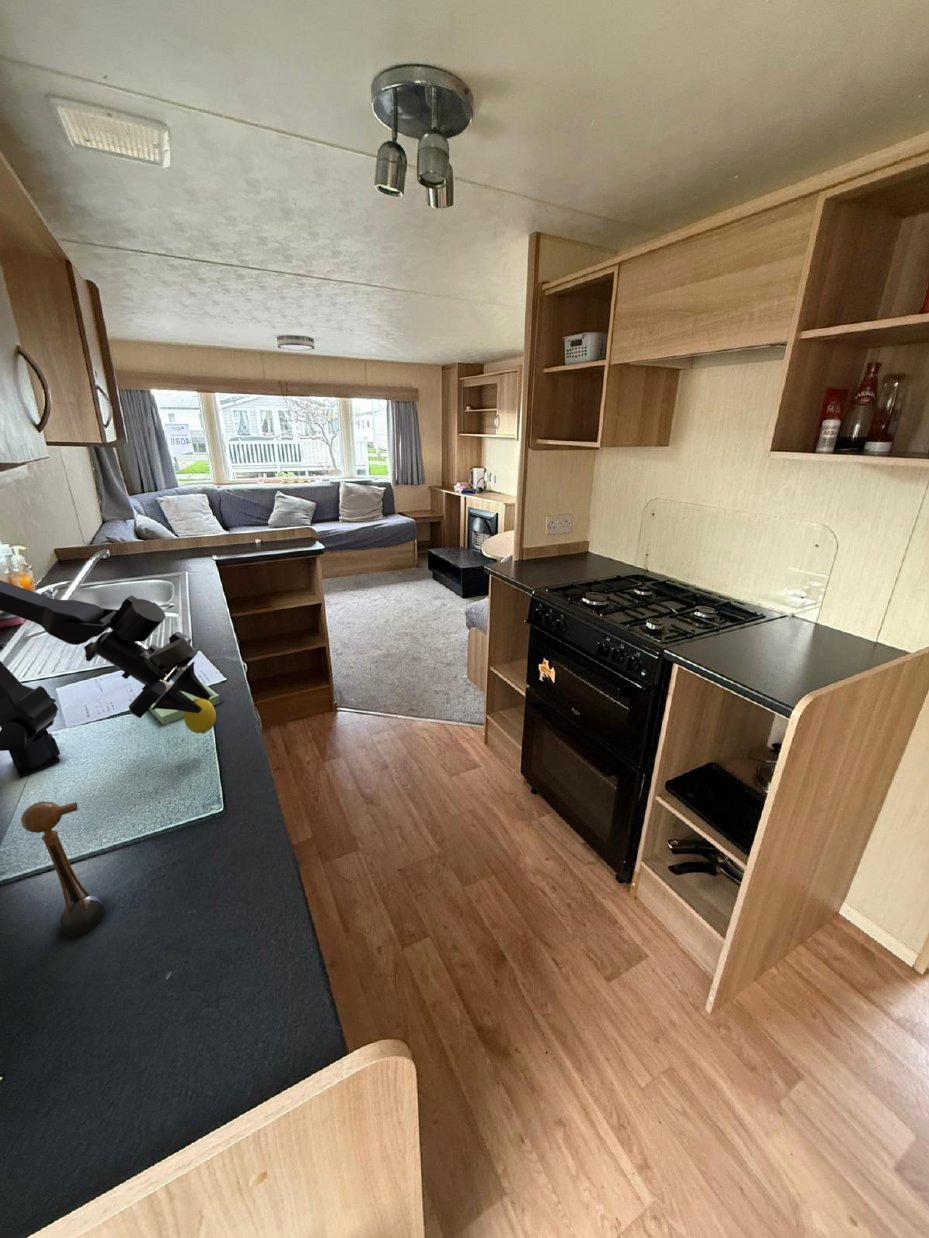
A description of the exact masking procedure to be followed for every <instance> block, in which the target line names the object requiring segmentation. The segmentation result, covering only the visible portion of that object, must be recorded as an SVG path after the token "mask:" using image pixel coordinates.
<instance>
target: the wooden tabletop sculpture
mask: <svg viewBox="0 0 929 1238" xmlns="http://www.w3.org/2000/svg"><path fill="white" fill-rule="evenodd" d="M78 810H79V807H78V802H77V801H74V802H71V803H68V804H65V805H62V806H59V804H57V803H55V802H53V801H38V802H35V803H33V804H31V805H30V806H29V807H28V808H26V809H25V810H24V811H23V812H22V815H21V817H20V823H21V826H22V828H23V829H24V830H26V831H27V832H31V833H35V834H40V833H43V834H42V836H41V841H43V842H44V845H45V848H46V850H47V852H48V855H49V857H50V859H51V861H52V864H53V866H54V870H55V872H56V874H57V877H58V880H59V883H60V887H61V890H62V894H63V899H64V904H65V908H64V910H63V912H62V914H61V916H60V926H61V929H62V931H63V933H64V935H65V936H68V937H69V936H70V937H77V936H80V935H82V934H85V933H88V932H90V931H91V930H93V929H94V928H95V927H96V926H97V925H98V924H99V923H100V922H102V920H103V919H104V915H105V914H106V912H107V910H106V907H105V905H104V904H103V903H102V901H101V900H100V898H99V897H98V896H96V895H91V894H89V892H87V890H86V889H85V888H84V887H83V885H82V884H81V881H80V880H79V879H78V877H77V875H76V873H75V872H74V870H73V867H72V866H71V863H70V862H69V859H68V856H67V854H66V852H65V849H64V847H63V845H62V842H61V840H60V837H59V833H58V831H57V830H53V828H55V827H56V826H57V825H58V824H59V823H60V821H61V820H62V817H63V816H65V815H68V814H70V813H73V812H77V811H78ZM80 891H81V892H82V893H83V894H84V895H82V894H81V892H80Z"/></svg>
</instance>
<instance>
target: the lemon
mask: <svg viewBox="0 0 929 1238" xmlns="http://www.w3.org/2000/svg"><path fill="white" fill-rule="evenodd" d="M192 701H194V702H195V703H196V704H197V705H199V706H200V707H201V708H202V710H201V711H200V712H199V713H193V712H186V711H184V717H183V721H184V723H185V726H186V727H187V728H188V730H189V731H191V732H193V733H195V734H202V735H204V734H206V733H208V731H210V730H211V729H212V728H213V727H214V726H215V723H216V721H217V713H216V710H215V707H214V706H213V705H212V704H211V703H210V702H209V701H208V700H205V699H198V698H196V699H194V700H192Z"/></svg>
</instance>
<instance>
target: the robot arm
mask: <svg viewBox="0 0 929 1238" xmlns="http://www.w3.org/2000/svg"><path fill="white" fill-rule="evenodd" d="M0 612H3V613H6V614H10V615H12V616H15V617H18V618H21V619H23V620H27V621H29V622H33V623H34V624H37V625H39V626H41V627H42V628H43V630H44V631H45V632H46V633H47V634H48V635H50V636H51V637H54V638H55V639H58V640H60V641H62V642H64V643H66V644H69V645H73V646H79V645H82V644H85V643H87V642H88V641H90V640H92V638H96V637H97V639H96V640H95V641H90V642H89V643H87V644H86V645H85V646H84V647H83V649H84V653H85V661H87V662H91V661H92V660H93V659H95V658H96V657H98V656H99V657H100V658H102V659H104V660H105V661H107V662H108V663H110V664H112V665H113V666H115V667H116V668H117V669H119V670H120V671H122V672H124V673H122V674H121V677H122V678H123V679H125V680H127V679H128V678H130V677H131V678H133V679H134V680H136V681H138V682H140V683H141V684H143V685H144V686H143V687H141V690H142V691H141V692H140V693H139V694H138V695H137V696H136V697H135V698H134V700H132V702H131V703H130V704H129V705H128V709H129V713H130V714H132V715H133V716H135V717H136V718H138V719H141V718H142V717H143V716H144V715H145V713H146V712H147V711H149V708H150V707H151V706H152V705H153V704H155V705H154V706H153V708H152V710H155V709H169V710H179V711H186V712H193V713H199V712H200V711H201V710H202V708H201V707H200V706H199V705H197V704H196V703H195V702H194V701H192V700H191V699H190V698H188V697H187V696H186V695H184V694H183V693H182V692H181V691H183V692H186V693H188V694H191V695H193V696H196V697H198V698H201V699H205V700H208V699H209V698H210V697H211V696H210V694H209V693H208V692H207V690H206V689H205V688H204V686H203V685H202V684H201V683H200V681H201V680H200V679H199V678H198V677H197V675H196V674H195V664H196V663H195V660H194V658H195V657H196V656H197V654H199V651H198V650H196V649H195V648H193V646H192V645H191V642H192V638H191V637H189V636H187V635H186V634H184V633H182V632H181V631H176V632H174V633H172V634H171V635H170V636H169V637H168V642H167V643H166V644H165V645H164V646H162V647H159V646H157V645H156V644H152V643H151V644H150V645H149V646H146V645H145V644H143V643H142V642H145V641H147V640H148V638H149V637H150V636H151V635H152V634H153V633H154V632H155V631H156V629H158V627H159V626H160V625H161V623H162V622H164V620H165V619H166V614H165V611H164V609H163V608H162V607H161V606H160V605H158V604H157V603H156V602H154V601H153V602H152V601H150V600H148V599H145V598H144V599H143V598H138V597H136V596H134V595H130V596H128V597H127V598H125V599H124V600H123V601H122V603H121V604H120V607H119V608H118V609H114V608H105V607H101V606H100V605H97V604H94V603H90V602H86V601H81V600H76V599H59V598H58V599H57V598H54V597H53V598H52V597H50V596H46V595H44V594H41V593H38V592H36V591H32V590H30V589H27V588H24V587H21V586H18V585H15V584H12V583H10V582H7V581H5V580H1V579H0ZM109 629H111V631H108V630H109ZM192 660H194V661H192ZM191 661H192V662H191ZM190 662H191V663H190ZM189 663H190V664H189ZM7 667H8V666H6V665H5V664H4V663H3V662H2V661H1V660H0V728H1V729H0V752H4V751H5V752H6V751H8V753H9V755H10V757H11V760H12V765H13V767H14V769H15V772H16V774H17V777H18V778H23V777H25V776H28V775H30V774H33V773H35V772H39V771H41V770H43V769H46V768H49V767H51V766H54V765H56V764H59V763H61V759H60V755H61V752H60V749H59V746H58V744H57V741H56V738H55V736H54V734H53V733H51V732H50V733H49V732H48V729H49V728H50V727H51V726H53V725H54V723H55V718H56V717H57V714H58V710H59V708H58V706H57V704H56V702H57V699H55V698H54V697H52V696H51V695H50V694H49V693H48V691H47V690H46V689H45V687H43V686H42V685H39V686H36V688H34V687H31V686H28V685H25V684H23V683H22V682H21V681H20V680H19V679H18V678H17V677H16V676H15V674H14V673H12V672H11V670H9V669H8V668H7ZM198 679H199V680H200V681H199V680H198ZM170 682H172V683H171V684H170Z"/></svg>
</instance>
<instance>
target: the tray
mask: <svg viewBox="0 0 929 1238" xmlns="http://www.w3.org/2000/svg"><path fill="white" fill-rule="evenodd" d="M198 680H199V681H200V683H201V684H202V685H203V686H204V688H205V689H206V690H207V692H208V693H209V694H210V696H211V697H210V698H209V699H208V701H209V702H210V703H211V704H212V705H213V707H214V706H215V705H219V704H221V701H220V696H219V694H218V693H216V692H215V691H214V690H212V689H211V688H210V687H209V686H208V685H206V684H205V683H204V682H202V680H200V679H199V678H198ZM181 692H182V693H183V694H184V695H186V696H187V697H188V698H190V699H191V700H194V699H196V698H198V697H196V696H193V695H191V694H188V693H186V692H183V691H181ZM198 699H201V698H198ZM154 705H155V704H153V705H152V706H151V707H150V708H149V709H148V711H150V713H151V714H152V715H153V716H154V717H155V718H156V719H157V720H158V721H159V722H160V723H161V724H162V725H163V726H165V725H168V724H170V723H173V722H175V721H178V720H180V719H184V711H179V710H169V709H155V710H152V708H153V706H154Z"/></svg>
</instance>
